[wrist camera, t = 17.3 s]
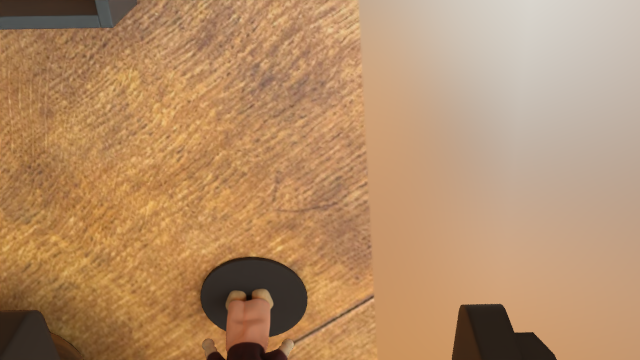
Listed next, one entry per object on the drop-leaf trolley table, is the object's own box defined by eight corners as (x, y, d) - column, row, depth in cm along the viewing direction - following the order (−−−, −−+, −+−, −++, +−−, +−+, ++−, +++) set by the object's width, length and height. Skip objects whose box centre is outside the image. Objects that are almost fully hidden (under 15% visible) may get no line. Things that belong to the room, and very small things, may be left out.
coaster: (305, 256, 50) (305, 259, 50) (308, 334, 56) (308, 337, 55) (194, 258, 50) (193, 260, 50) (207, 336, 56) (207, 339, 55)
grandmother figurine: (222, 321, 54) (199, 442, 43) (209, 292, 52) (182, 412, 41) (299, 307, 53) (296, 428, 42) (289, 277, 51) (283, 396, 40)
